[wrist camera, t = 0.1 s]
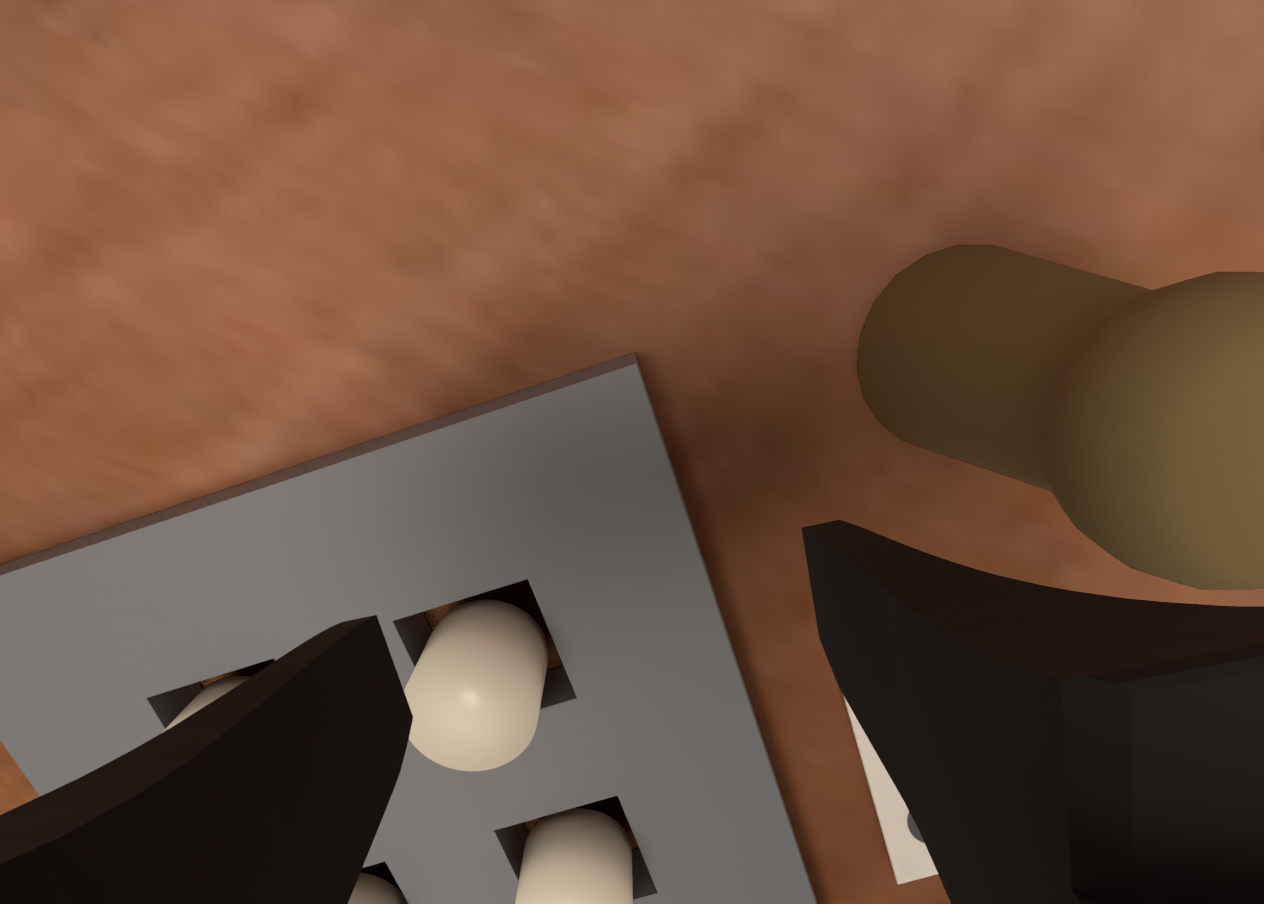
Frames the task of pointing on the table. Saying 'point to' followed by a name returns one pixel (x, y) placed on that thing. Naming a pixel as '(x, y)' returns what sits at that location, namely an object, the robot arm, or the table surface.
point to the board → (399, 594)
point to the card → (892, 814)
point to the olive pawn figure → (1088, 398)
